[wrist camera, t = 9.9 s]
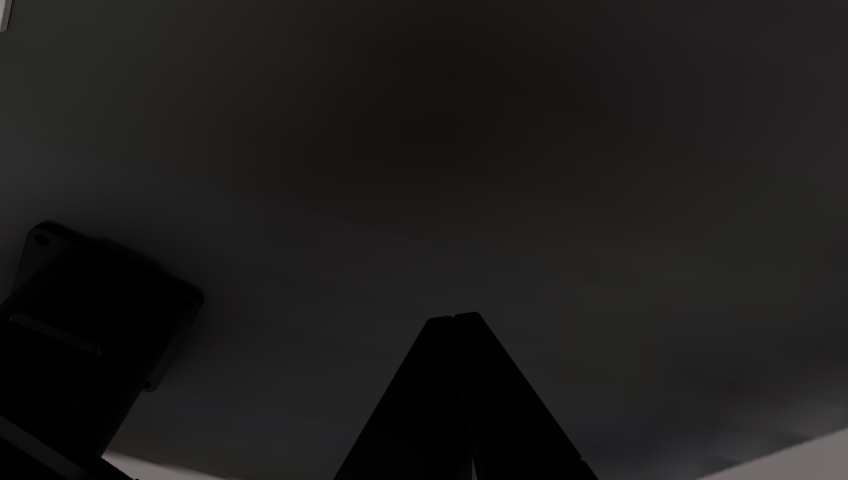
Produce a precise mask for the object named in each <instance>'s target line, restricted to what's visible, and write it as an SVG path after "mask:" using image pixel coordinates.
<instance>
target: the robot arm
mask: <svg viewBox="0 0 848 480" xmlns="http://www.w3.org/2000/svg"><path fill="white" fill-rule="evenodd" d="M43 235H45V236H46V237H47V238H48V239H47V238H45V237H44V236H43ZM186 300H189V301H191V302H192V303H189V302H188V301H186ZM203 301H204V300H203V296H202V295H201V294H200V293H199V292H197V291H196V290H194V289H192V288H190V287H187V286H185V285H183V284H181V283H179V282H176V281H174V280H172V279H170V278H168V277H166V276H163V275H161V274H159V273H157V272H155V271H152V270H150V269H148V268H146V267H144V266H141V265H139V264H137V263H135V262H133V261H130V260H128V259H126V258H124V257H122V256H120V255H117V254H115V253H113V252H111V251H109V250H106V249H104V248H102V247H100V246H98V245H95V244H93V243H91V242H89V241H87V240H84V239H82V238H80V237H78V236H76V235H74V234H71V233H69V232H67V231H65V230H63V229H60V228H58V227H56V226H54V225H52V224H48V223H40V224H37V225H36V226H35V227H34V228H32V229H31V230H30V231H29V233H28V235H27V239H26V242H25V246H24V249H23V253H22V257H21V260H20V264H19V267H18V271H17V275H16V278H15V282H14V286H13V289H12V293H11V295H10V296H9V297H8V298H7V299H6V300H5V301H4V302H3V303H2V304H1V305H0V480H133V479H132V478H130V477H129V476H128V475H126V474H125V473H123V472H122V471H120V470H119V469H117V468H116V467H115V466H113V465H111V464H110V463H109V462H107V461H106V460H104V459H103V458H101V457H102V455H103V453H104V452H105V450H106V449H107V447H108V445H109V444H110V442H111V440H112V439H113V437H114V435H115V434H116V432H117V430H118V429H119V427H120V425H121V424H122V422H123V420H124V419H125V417H126V415H127V414H128V412H129V410H130V409H131V407H132V405H133V404H134V402H135V400H136V399H137V397H138V396H139V394H140V392H141V391H146V392H152V391H154V390H156V389H157V387H158V385H159V383H160V382H161V380H162V378H163V376H164V374H165V372H166V371H167V369H168V367H169V365H170V363H171V361H172V360H173V358H174V356H175V354H176V352H177V350H178V348H179V347H180V345H181V343H182V341H183V339H184V337H185V336H186V334H187V332H188V330H189V328H190V326H191V325H192V323H193V321H194V319H195V317H196V315H197V314H198V312H199V310H200V308H201V306H202V304H203ZM472 457H473V461H474V466H475V470H476V475H477V479H478V480H598V478H597V477H596V476H595V474H594V473H593V471H592V470H591V469H590V467H589V466H588V464H587V463H586V462H585V461H583V460H582V457H581V455H580V454H579V452H578V451H577V449H576V448H575V447H574V445H573V444H572V442H571V441H570V440H569V438H568V437H567V435H566V434H565V433H564V431H563V430H562V428H561V427H560V426H559V424H558V423H557V421H556V420H555V419H554V417H553V416H552V415H551V413H550V412H549V410H548V409H547V408H546V406H545V405H544V403H543V402H542V401H541V399H540V398H539V396H538V395H537V394H536V392H535V391H534V389H533V388H532V387H531V385H530V384H529V382H528V381H527V380H526V378H525V377H524V375H523V374H522V373H521V371H520V370H519V368H518V367H517V366H516V364H515V363H514V361H513V360H512V359H511V357H510V356H509V354H508V353H507V352H506V350H505V349H504V347H503V346H502V345H501V343H500V342H499V340H498V339H497V338H496V336H495V335H494V333H493V332H492V331H491V329H490V328H489V326H488V325H487V324H486V322H485V321H484V319H483V318H482V317H481V315H480V314H479V313H478V312H469V313H462V314H457V315H455V316H454V318H452V316H442V317H435V318H430V319H429V320H427V322H426V323H425V325H424V327H423V328H422V330H421V332H420V333H419V335H418V337H417V339H416V340H415V342H414V344H413V345H412V347H411V349H410V350H409V352H408V354H407V355H406V357H405V359H404V361H403V362H402V364H401V366H400V367H399V369H398V371H397V372H396V374H395V376H394V378H393V379H392V381H391V383H390V384H389V386H388V388H387V389H386V391H385V393H384V394H383V396H382V398H381V400H380V401H379V403H378V405H377V406H376V408H375V410H374V411H373V413H372V415H371V417H370V418H369V420H368V422H367V423H366V425H365V427H364V428H363V430H362V432H361V434H360V435H359V437H358V439H357V440H356V442H355V444H354V445H353V447H352V449H351V450H350V452H349V454H348V456H347V457H346V459H345V461H344V462H343V464H342V466H341V467H340V469H339V471H338V473H337V474H336V476H335V478H334V479H333V480H472ZM135 480H139V479H135Z"/></svg>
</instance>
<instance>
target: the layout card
mask: <svg viewBox="0 0 848 480" xmlns="http://www.w3.org/2000/svg"><path fill="white" fill-rule="evenodd" d="M11 4H12V0H0V32H2V31H6V29H7V24H8V19H9V14H10V9H11Z"/></svg>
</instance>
